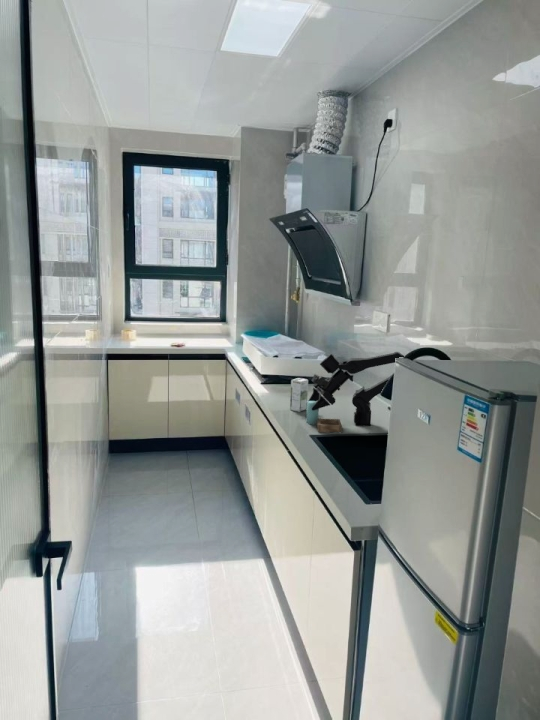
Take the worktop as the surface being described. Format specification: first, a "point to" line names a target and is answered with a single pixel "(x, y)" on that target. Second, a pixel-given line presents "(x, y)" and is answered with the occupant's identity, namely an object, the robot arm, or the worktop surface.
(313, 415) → the peg
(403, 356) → the robot arm
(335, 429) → the collar
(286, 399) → the worktop surface
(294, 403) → the syrup box
